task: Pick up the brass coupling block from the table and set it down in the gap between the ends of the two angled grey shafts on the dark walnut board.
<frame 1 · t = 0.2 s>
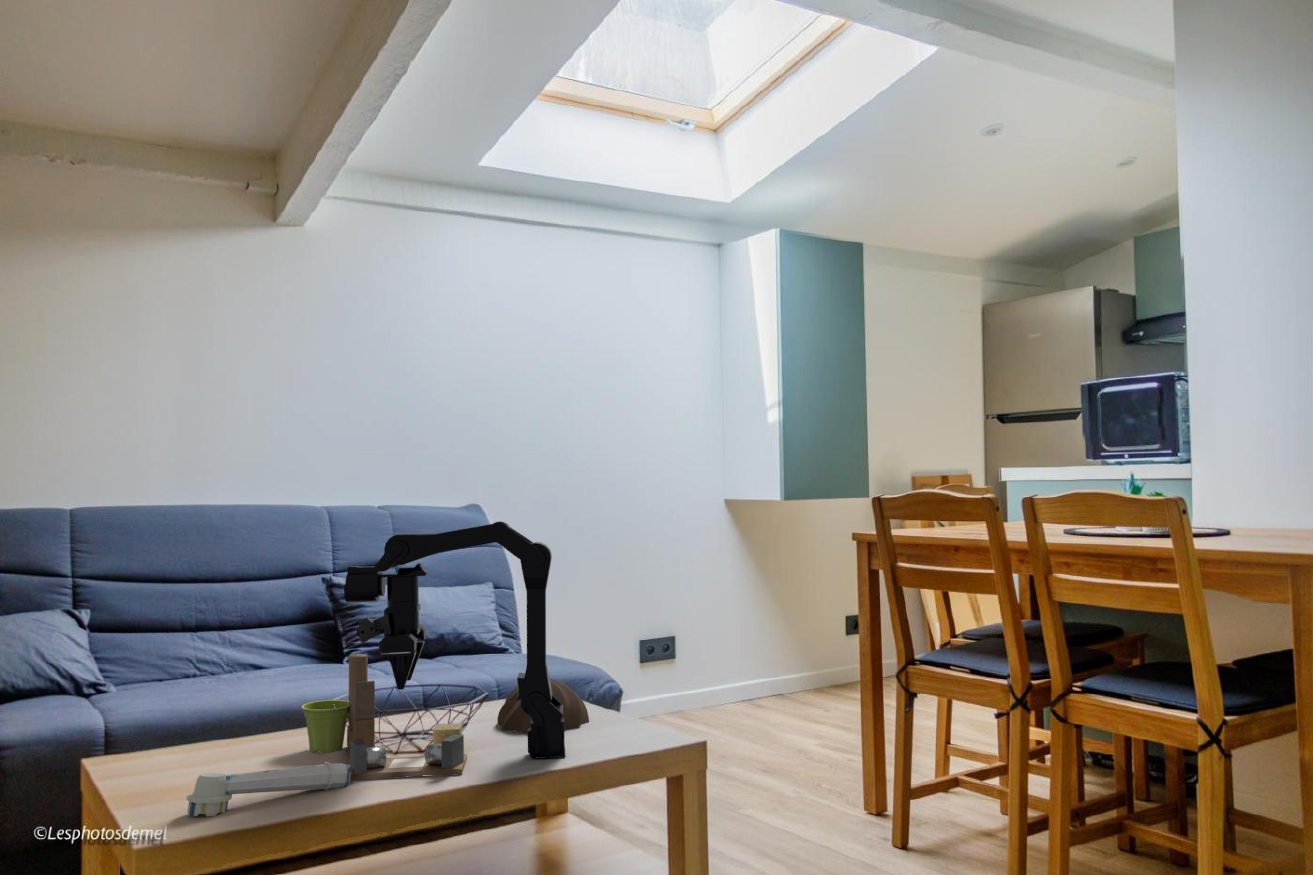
hand: (404, 684, 180), 14 cm above the table, tool pointing down, fingers open, 9 cm apart
coupler: (447, 753, 184), on the table
decorative dome: (543, 724, 208), on the table
board: (407, 769, 172), on the table
plant pot: (326, 750, 188), on the table
shaft b: (369, 774, 170), resting on board
wooden block: (360, 752, 186), on the table
shaft a: (442, 770, 171), resting on board
toothbrush head: (271, 802, 156), on the table
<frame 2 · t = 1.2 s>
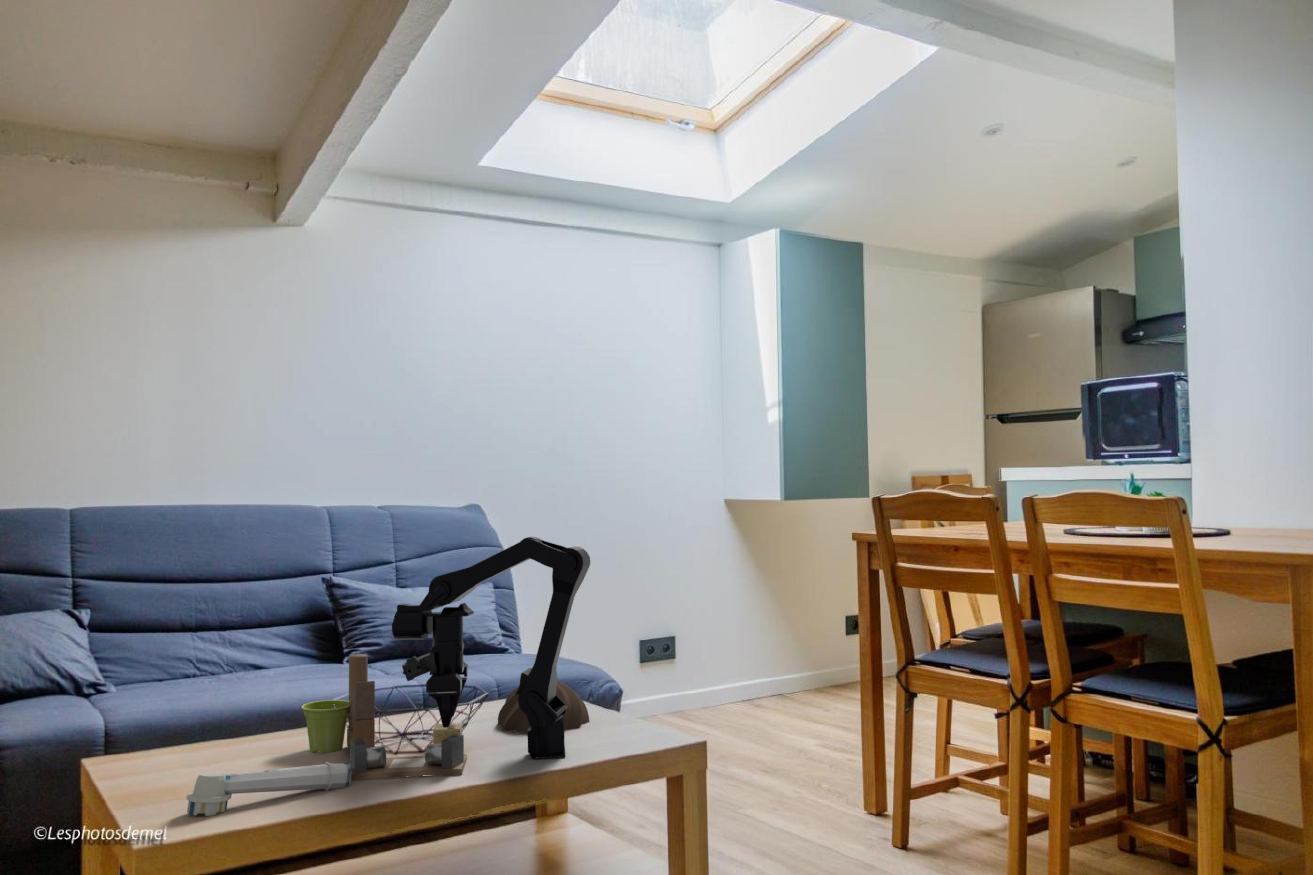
hand: (448, 721, 184), 6 cm above the table, tool pointing down, fingers open, 9 cm apart
nothing on the table moved.
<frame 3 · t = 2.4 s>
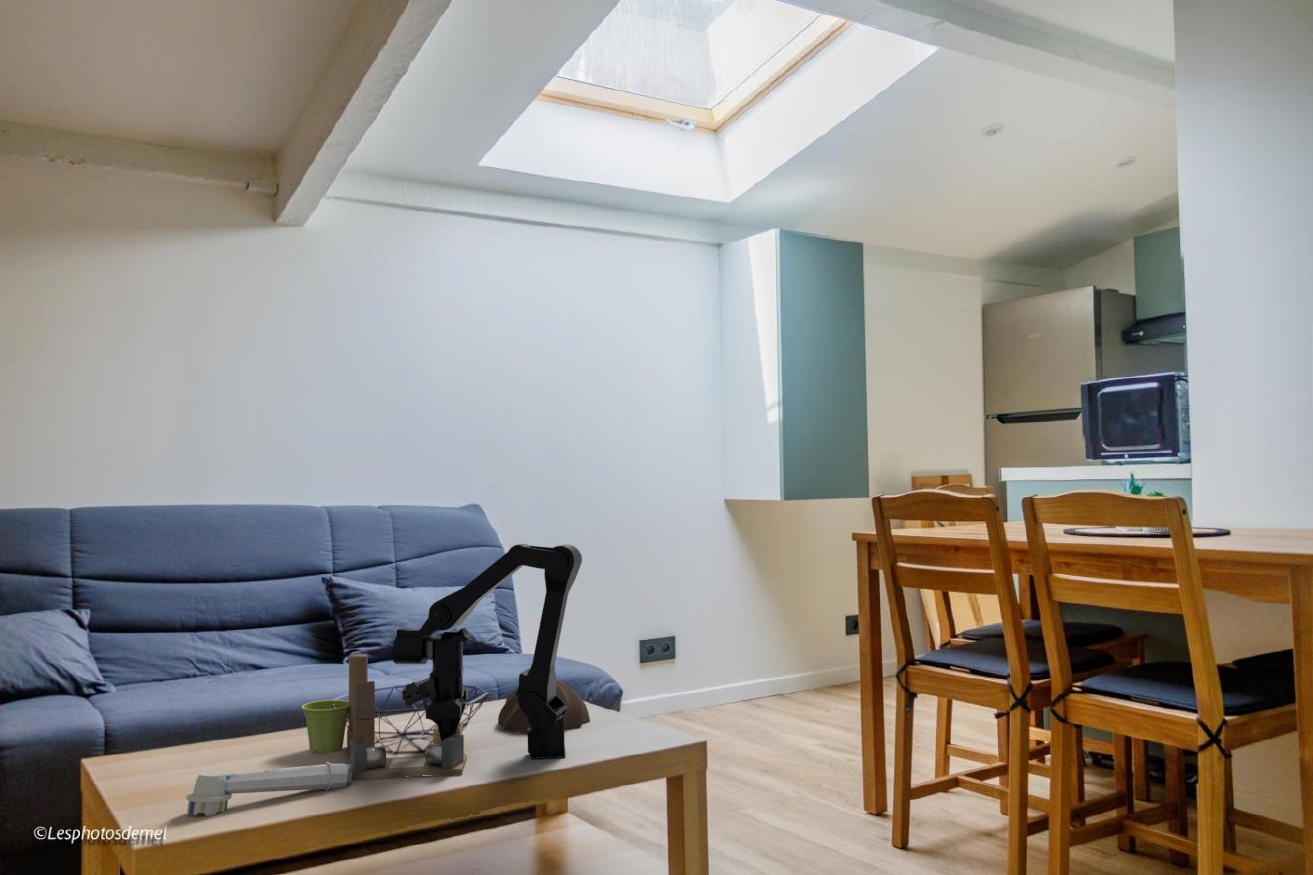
hand: (447, 747, 184), 1 cm above the table, tool pointing down, fingers closed on coupler, 5 cm apart
coupler: (447, 752, 184), on the table, touching gripper
everything else where it was.
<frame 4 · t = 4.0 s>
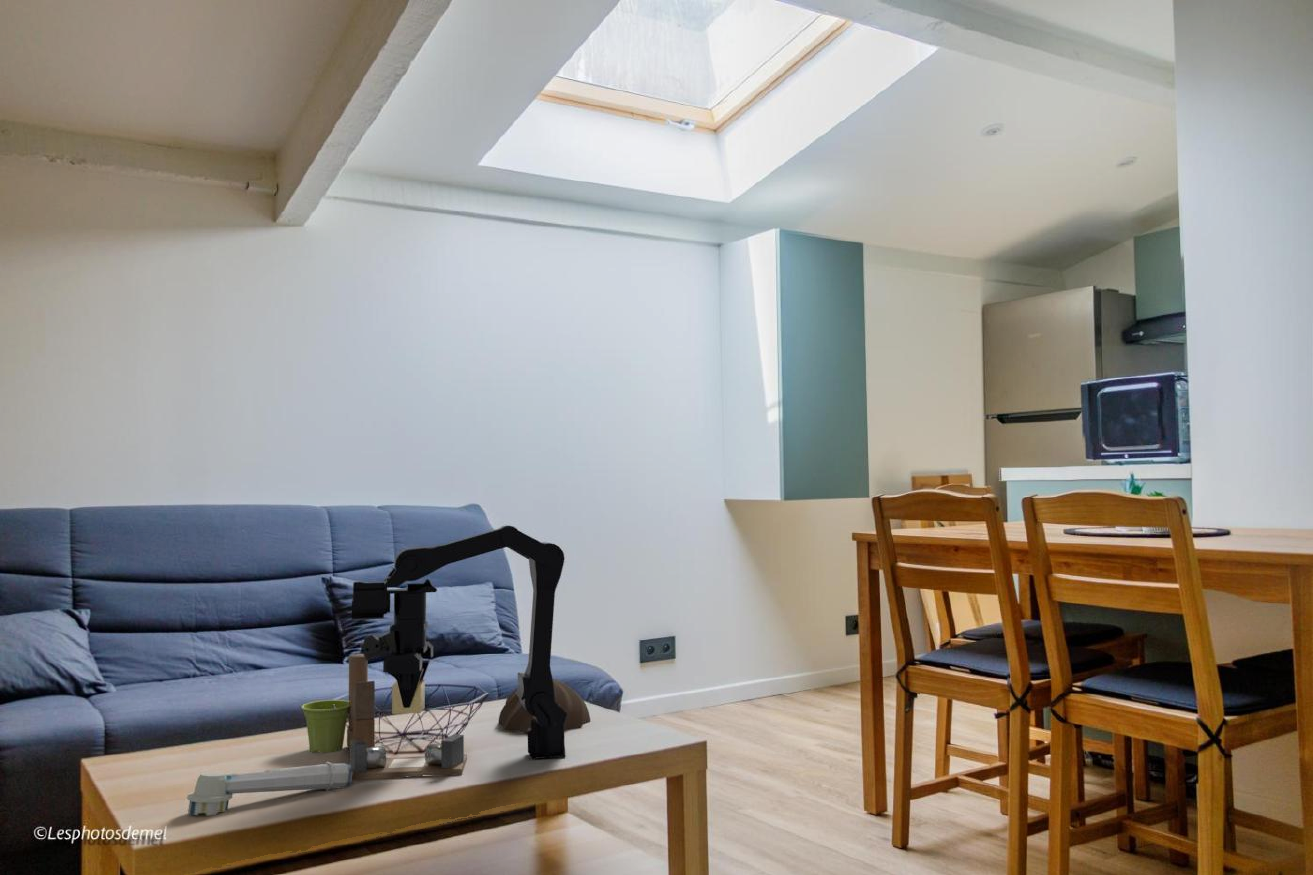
hand: (409, 704, 174), 11 cm above the table, tool pointing down, fingers closed on coupler, 5 cm apart
coupler: (408, 710, 174), point 10 cm above the table, touching gripper
everything else where it was.
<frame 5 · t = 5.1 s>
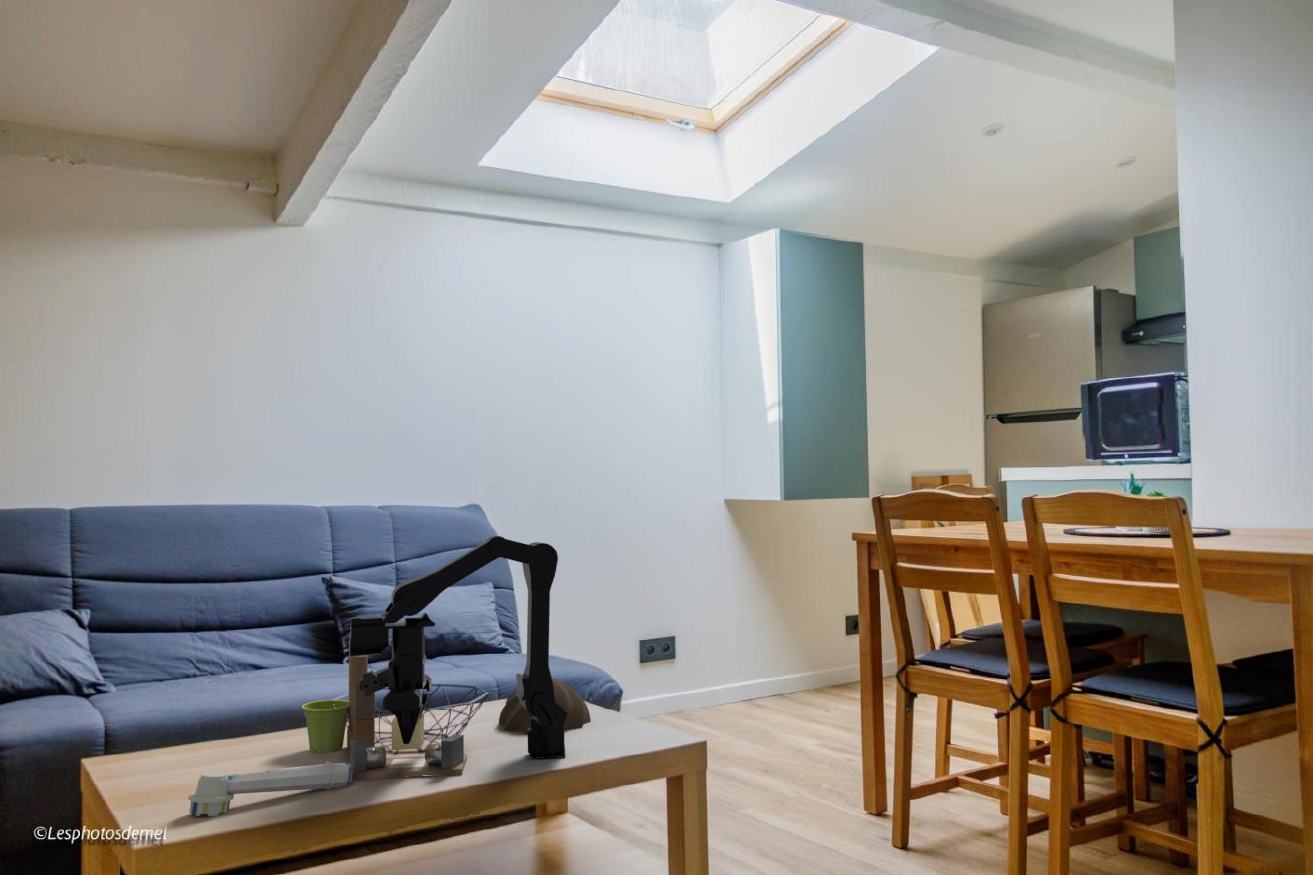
hand: (408, 740, 173), 5 cm above the table, tool pointing down, fingers closed on coupler, 5 cm apart
coupler: (408, 745, 173), point 4 cm above the table, touching gripper
everything else where it was.
when the fingers open (3 cm above the table, at t = 5.8 s): coupler drops 1 cm, resting on board.
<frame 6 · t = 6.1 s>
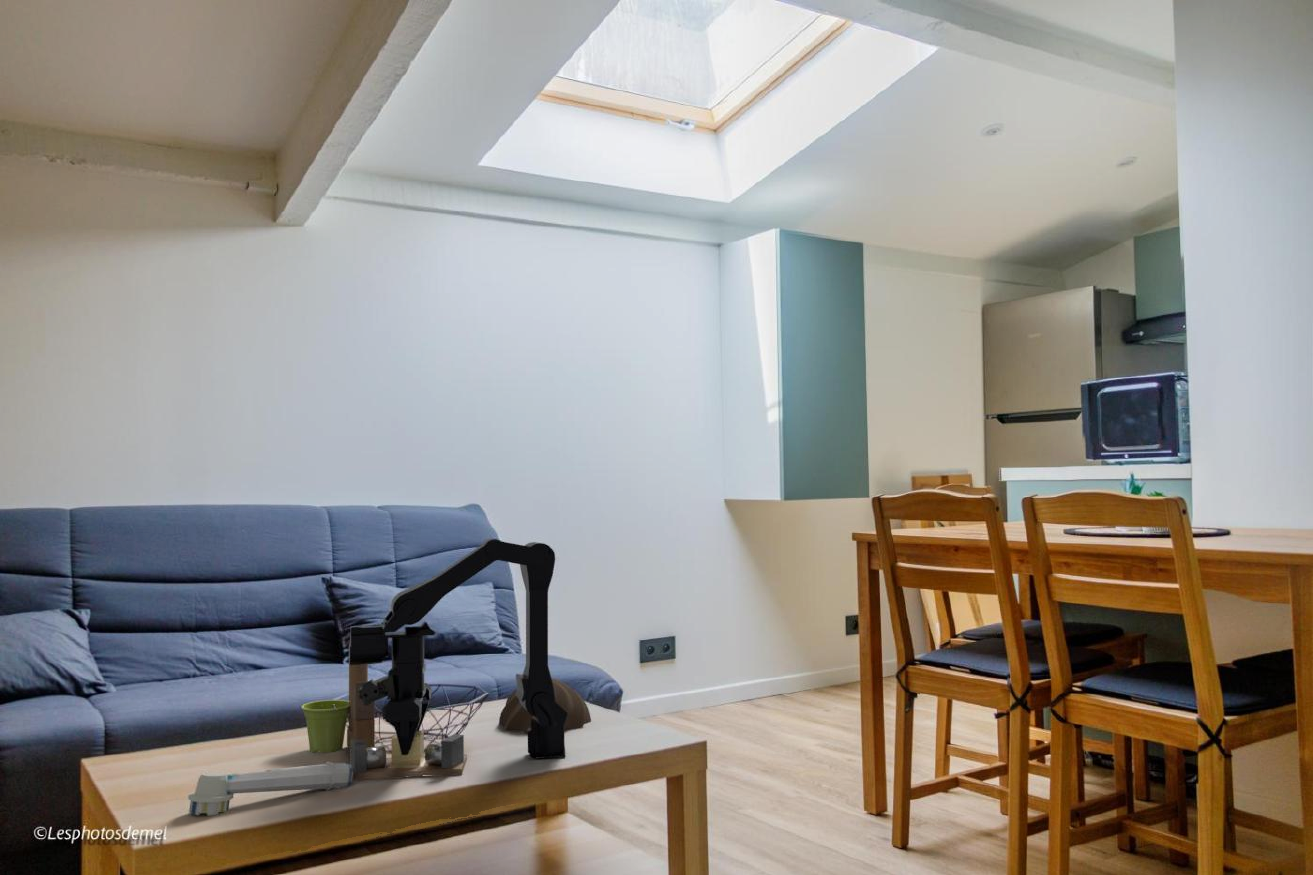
hand: (408, 749, 173), 3 cm above the table, tool pointing down, fingers open, 8 cm apart
coupler: (407, 762, 173), point 1 cm above the table, touching board
everything else where it was.
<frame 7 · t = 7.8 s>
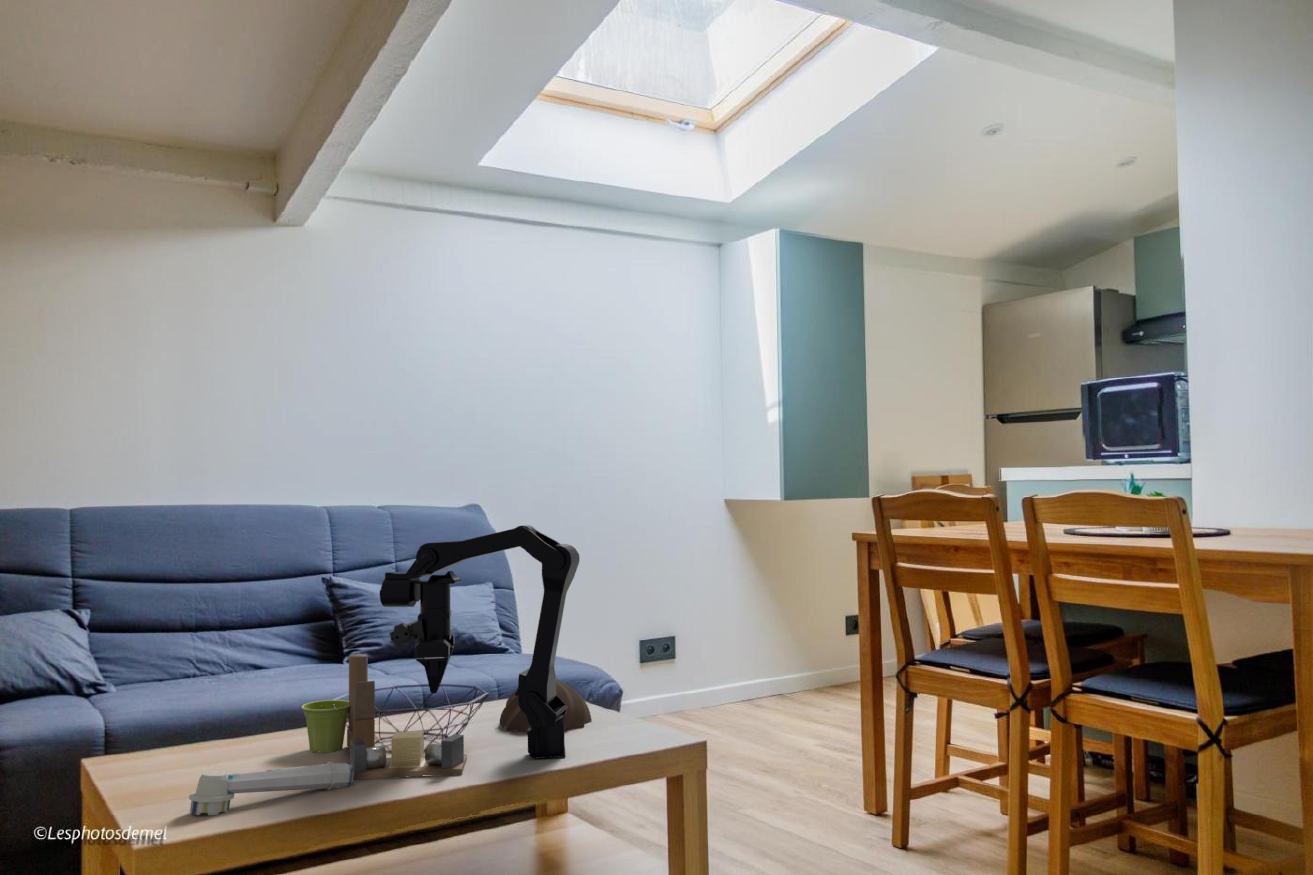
hand: (435, 688, 186), 12 cm above the table, tool pointing down, fingers open, 9 cm apart
nothing on the table moved.
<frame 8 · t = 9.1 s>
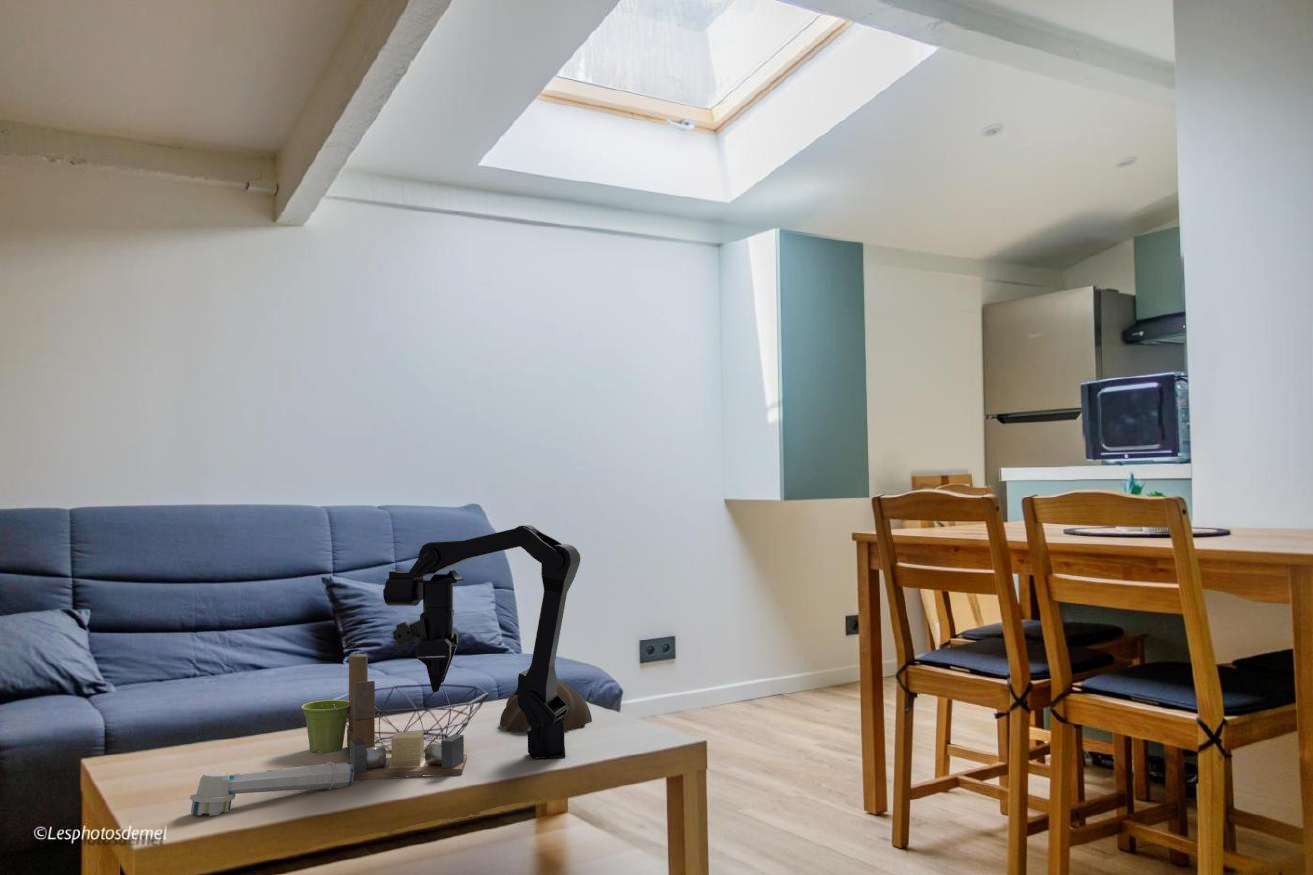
hand: (438, 687, 187), 12 cm above the table, tool pointing down, fingers open, 9 cm apart
nothing on the table moved.
at the end: coupler 0.0 cm from the target spot, point 1.1 cm above the table; coupler tilted 0°; the gripper is holding nothing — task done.
